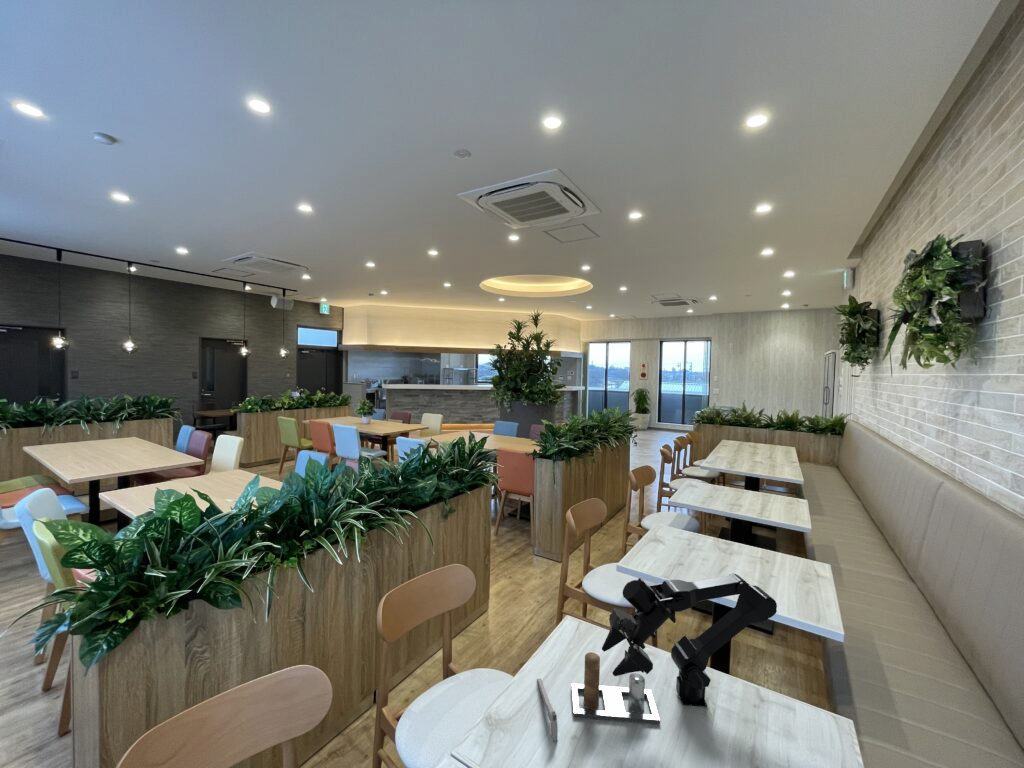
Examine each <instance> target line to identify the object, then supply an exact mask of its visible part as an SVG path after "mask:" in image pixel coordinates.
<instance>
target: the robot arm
mask: <svg viewBox="0 0 1024 768" xmlns="http://www.w3.org/2000/svg"><path fill="white" fill-rule="evenodd" d="M735 595H736V596H738V597H737V600H736V603H735V606H734V607H733V608H732V609H731V610H730V611H728V612H727V613H726V614H725V615H723V616H721V618H719V619H718V620H717V621H715V622H714V624H712V625H711V626H710V627H708V628H707V629H706V630H705V631H703V632H702V633H700V635H698V636H697V637H696V638H688V636H687V635H683V636H682V637H681V638H680V639H679V640H678V641H676V642H674V643H673V647H672V648H671V649H670V652H671V653H670V658H671V659H672V661H673V662H674V665H675V666H676V667H677V668H678V675H677V676H676V681H675V682H676V685H675V688H676V689H675V691H676V693H677V695H678V697H679V698H680V701H681V704H682V705H684V706H693V707H694V706H695V707H705V708H706V707H708V702H707V701H706V688H708V687H709V686H710V683H711V678H710V676H708V674H707V673H706V669H707V666H708V664H709V661H710V657H711V656H712V655H714V653H716V652H717V651H718V650H719V649H721V648H722V647H723V646H724V645H726V644H727V643H729V642H730V640H732V639H733V638H734V637H736V636H737V635H738V634H739V633H740V632H741V631H743V630H744V629H745V628H746V627H748V626H749V625H751V624H757V623H764V622H765V621H767V620H769V619H771V618H772V617H774V616H775V615H776V613H777V612H778V610H777V607H778V604H777V602H776V600H775V598H773V597H772V596H770V595H769V594H768V593H767V592H766V591H764V590H763V589H762V588H761V587H760V586H758V585H754V584H750V583H748V582H747V581H746V580H745V579H744V578H742V577H741V576H740V575H739V574H736V573H729V574H728V575H725V576H720V577H719V576H717V577H713V578H712V577H711V578H708V579H701V580H696V581H685V580H681V579H666V580H664V581H662V582H659V583H654V584H646V582H645V581H644V580H643V578H641V577H639V578H638V579H634V580H631V581H628V582H627V583H626V584H625V585H624V587H623V588H622V596H623V598H624V599H625V600H626V601H627V602H628V603H629V604H630V605H631V606H632V607H633V608H635V610H636V611H633V612H632V613H631V614H629V613H627V611H626V612H625V611H623V610H621V609H618V608H617V607H616V608H615V607H614V608H613V610H612V611H611V613H610V614H609V615H608V616H609V617H608V620H609V631H608V634H607V636H606V638H605V641H604V642H603V644H602V647H601V650H602V652H608V651H609V650H611V649H612V648H613V647H615V646H616V645H618V644H620V643H622V642H623V641H624V640H626V641H627V643H628V645H629V646H628V649H627V650H626V649H625V650H624V657H623V659H622V660H621V661H620V662H619V663H618V664H617V666H616V667H615V668H614V670H613V671H612V675H613V676H614V677H618V676H622V675H626V674H632V673H638V672H641V673H643V674H644V673H645V674H646V675H648V674H650V672H652V671H653V669H654V663H653V661H652V660H651V658H650V656H649V655H648V653H646V651H644V650H645V648H646V645H645V643H646V642H647V641H648V640H649V639H650V638H651V637H652V639H655V638H656V637H657V635H656V632H657V631H658V629H660V627H662V626H663V624H664V623H665V622H666V621H667V620H670V621H671V622H672V623H674V624H676V622H677V620H676V613H679V612H684V611H686V610H688V609H691V608H693V606H695V604H697V603H698V602H702V601H703V602H704V601H708V600H714V599H721V598H726V597H730V596H732V597H733V596H735ZM637 611H638V612H637Z"/></svg>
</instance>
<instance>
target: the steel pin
mask: <svg viewBox="0 0 1024 768" xmlns="http://www.w3.org/2000/svg"><path fill="white" fill-rule="evenodd" d="M629 674H630V675H629V677H628V678H629V679H628V680H629V681H628V688H629V696H628V703H627V704H628V708H629V710H630V711H631V712H632V713H637V714H642V713H643V711H645V710H644V709H645V697H644V690H645V689H646V688H645V685H646V681H645V680H646V679H645V677H644V675H642V674H640V673H638V672H631V673H629Z"/></svg>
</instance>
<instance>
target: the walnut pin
mask: <svg viewBox="0 0 1024 768" xmlns="http://www.w3.org/2000/svg"><path fill="white" fill-rule="evenodd" d="M600 668H601V658H600V655H599V654H597V653H596V652H587V653H586V654H584V672H583V673H584V674H583V675H584V677H583V678H584V679H583V682H584V683H583V684H584V692H583V704H584V706H585V707H586V709H590V710H597V708H599V704H600V702H599V701H600V694H599V686H600V674H601V673H600V672H601V671H600Z"/></svg>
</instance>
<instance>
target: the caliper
mask: <svg viewBox="0 0 1024 768" xmlns="http://www.w3.org/2000/svg"><path fill="white" fill-rule="evenodd" d="M536 681H537V684H538V689H539V691H540V694H541V697H542V700H543V703H544V706H545V708H546V711H547V712H546V713H547V714H546V715H547V718H548V720H549V725H550V733H551V734H550V735H551V737H552V741H553V742H558V735H559V734H558V732H559V731H558V728H559V727H558V719H557V717H558V716H557V713H556V711H555V710H554V708H553V705H552V703H551V702H550V699H549V697H548V694H547V690H546V688H545V685H544V682H543V679H542V678H541V677H540V678H536Z"/></svg>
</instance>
